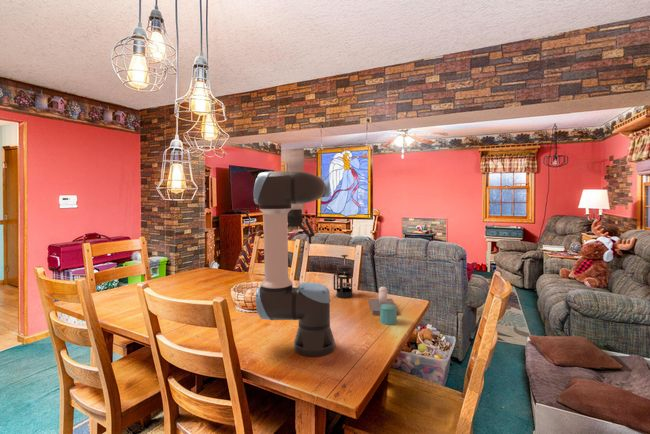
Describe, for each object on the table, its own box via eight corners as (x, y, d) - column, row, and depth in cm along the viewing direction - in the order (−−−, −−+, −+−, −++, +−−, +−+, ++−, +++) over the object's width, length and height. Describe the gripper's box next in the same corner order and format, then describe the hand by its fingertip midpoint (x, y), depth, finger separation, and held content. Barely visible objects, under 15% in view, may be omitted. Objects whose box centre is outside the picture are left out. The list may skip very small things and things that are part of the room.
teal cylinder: (397, 324, 141) (397, 309, 141) (381, 324, 142) (381, 308, 141) (394, 318, 148) (394, 303, 148) (379, 318, 149) (379, 303, 148)
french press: (356, 294, 184) (356, 254, 183) (350, 299, 176) (350, 257, 174) (337, 292, 189) (337, 252, 188) (330, 296, 181) (330, 255, 180)
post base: (398, 315, 153) (398, 292, 152) (372, 315, 153) (372, 291, 152) (392, 302, 171) (392, 281, 170) (368, 302, 171) (369, 281, 170)
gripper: (319, 208, 171) (319, 248, 172) (271, 208, 172) (272, 248, 173) (318, 209, 163) (318, 251, 165) (268, 209, 164) (269, 251, 166)
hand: (295, 249), depth 169 cm, fingers open, 13 cm apart
